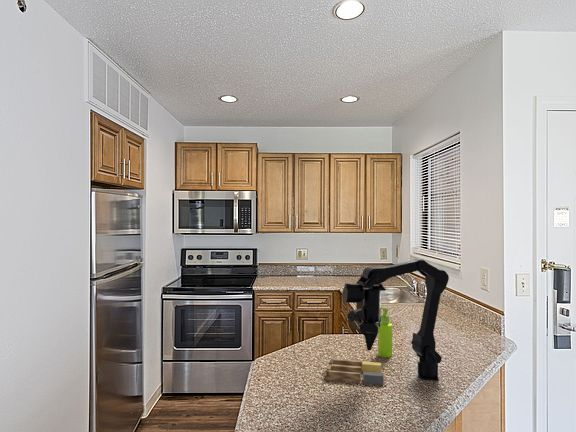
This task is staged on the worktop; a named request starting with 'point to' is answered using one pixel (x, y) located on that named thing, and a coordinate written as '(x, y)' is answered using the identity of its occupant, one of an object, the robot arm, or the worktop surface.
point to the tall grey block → (373, 378)
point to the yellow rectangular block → (371, 367)
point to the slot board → (344, 370)
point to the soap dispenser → (385, 335)
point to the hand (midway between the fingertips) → (370, 346)
